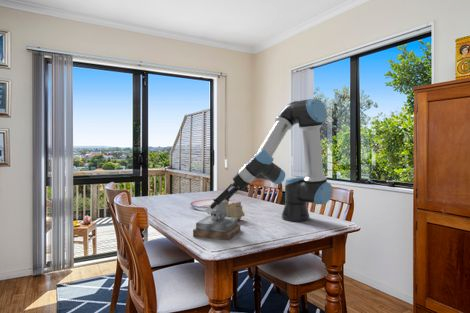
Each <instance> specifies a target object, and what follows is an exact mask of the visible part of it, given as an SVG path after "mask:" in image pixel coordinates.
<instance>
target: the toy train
mask: <svg viewBox="0 0 470 313" xmlns="http://www.w3.org/2000/svg"><path fill="white" fill-rule="evenodd" d="M225 205H226V212H227V215H226V216H225V217H231V218H238V221H239V220H241V219H242V218H243V217H245V215H246V214H245V212H244V211H243V205H242V201H240V200H239V201H238V200H237V201H235V202H230V203H229V201H227V200H226V202H225Z"/></svg>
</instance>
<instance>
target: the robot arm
mask: <svg viewBox="0 0 470 313" xmlns="http://www.w3.org/2000/svg"><path fill="white" fill-rule="evenodd" d="M326 107H327V106H326V105H325V104H324V102H323V101H322V100H321V99H318V98H309V99H303V100H295V101H291V102H289V103H287V105H286V106H285V107H283V109H282V110H281V111H280V112H279V113H278V115H277V116H276V117H275V119H274V124H273V126H272V128H271V129H270V130H269V133H268V134H267V136H266V138H265V139H264V141H263V142H262V144H261V145H260V147H259V148H258V150H257V152H256V153H255V154H254V155H253V156H252V158H250V160H248V161H247V163H244V165H243V166H242V167H241V168H240V169H239V171H238V172H236V173H235V175H234V176H232V180H233V183H230V184H229V185H228V187H226V189H225V190H224V191H222V193H221V194H218V196H217V197H216V198H213V199H212V200H213V202H211V203H210V204H209V205H208V207H206V209H205V210H204V211H205V212H206V213H207V215H210V213H211V212H212V211H213V210H214V209H215V208H216V207H217V206H218V205H219V204H220V203H221V202H224V203H225V202H226V200H227V201H228V202H229V201H230V199H232V197H233V196H234V195H235V194H236V193H237V192H238V191H239V190H240V189H241V190H245V189H246V188H248V187H249V185H250V184H251V183H252V182H255V181H256V180H257V179H258V180H264V181H270V182H271V183H273V184H274V185H280V184H282V183H283V182H284V181H285V182H284V184H285V185H284V187H285V188H284V194H285V195H284V196H285V197H284V199H285V200H284V207H283V210H282V213H281V219H282V220H285V221H288V222H295V223H296V222H297V223H298V222H299V223H300V222H307V221H310V213H309V209H308V206H307V203H310V204H315V205H325V204H328V203H329V201H330V200H331V198H332V196H333V185H331V183H330V182H328V178H327V176H325V175H324V167H323V165H324V164H323V154H322V153H323V152H322V144H321V143H322V141H321V139H322V138H321V128H322V126H323V123H324V121H325V120H326V118H327V113H328V112H327V108H326ZM296 124H298V128H299V129H301V131H302V139H303V153H304V163H305V175H306V176H303V177H292V178H290V177H289V178H286V172H285V171H284V170H283V169H282V168H281V167H279V166H278V165H277V164H275V163H274V157H273V156H274V153H276V150H277V149H278V148H279V146H280V144H281V142H282V141H283V139H284V137H285V136H286V133H287V132H288V131H290V130H291V129H292V128H293V127H294V125H296Z"/></svg>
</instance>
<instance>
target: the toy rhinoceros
mask: <svg viewBox="0 0 470 313" xmlns="http://www.w3.org/2000/svg"><path fill="white" fill-rule="evenodd" d="M226 215H227V212H226V205H225V203H224V202H221V203H220V204H219V205H218V206H217V207H216V208H215V209H214V210H213V211H212V212H211V213H210V214H209V216H211V220H212V221H216V220H217V219H218V217H219V218H220V220H223V219H225V216H226Z"/></svg>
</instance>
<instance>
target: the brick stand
mask: <svg viewBox="0 0 470 313" xmlns="http://www.w3.org/2000/svg"><path fill="white" fill-rule="evenodd" d="M240 231H241V223H239V220H238V218H231V217H225V219H223V220H220V218H219V217H218V219H217V220H216V221H212V220H211V215H208V216H205V218H202V219H201V220H198V221H196V222H195V228H193V229H192V236H193V237H194V238H206V239H212V240H213V239H215V240H224V241H231V239H232V238H233V237H234V236H235V235H236V234H238V233H239V232H240Z"/></svg>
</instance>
